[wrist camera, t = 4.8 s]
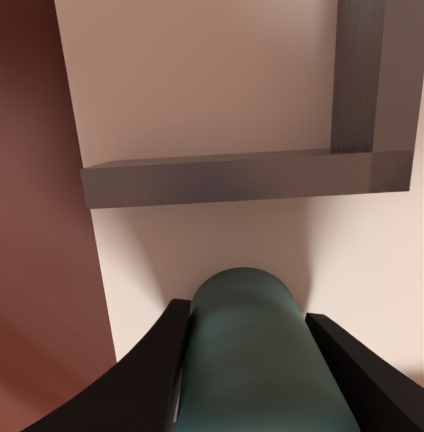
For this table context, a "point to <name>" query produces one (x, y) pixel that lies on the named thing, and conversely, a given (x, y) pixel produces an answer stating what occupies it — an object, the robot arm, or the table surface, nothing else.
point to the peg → (255, 362)
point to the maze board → (232, 144)
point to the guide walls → (310, 158)
